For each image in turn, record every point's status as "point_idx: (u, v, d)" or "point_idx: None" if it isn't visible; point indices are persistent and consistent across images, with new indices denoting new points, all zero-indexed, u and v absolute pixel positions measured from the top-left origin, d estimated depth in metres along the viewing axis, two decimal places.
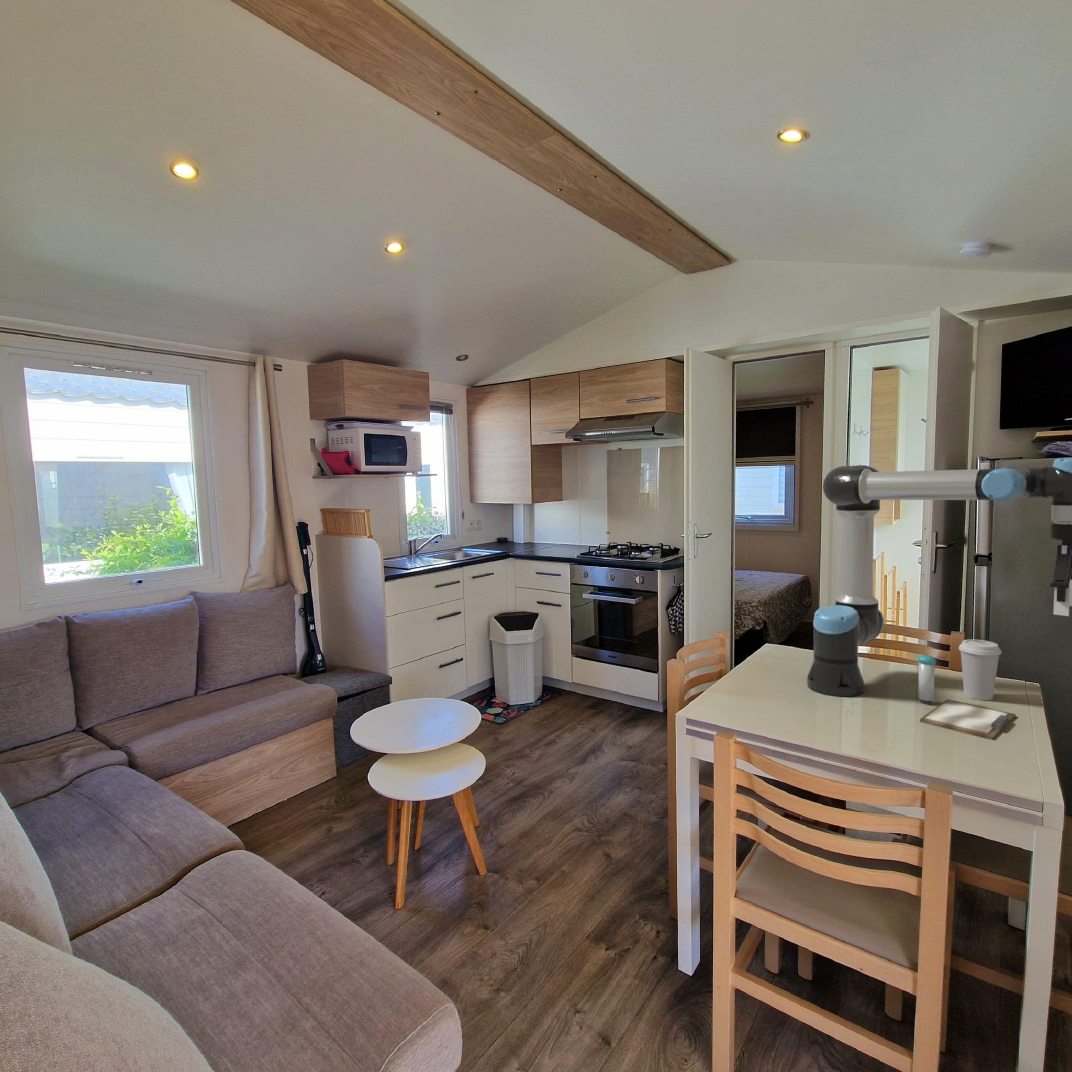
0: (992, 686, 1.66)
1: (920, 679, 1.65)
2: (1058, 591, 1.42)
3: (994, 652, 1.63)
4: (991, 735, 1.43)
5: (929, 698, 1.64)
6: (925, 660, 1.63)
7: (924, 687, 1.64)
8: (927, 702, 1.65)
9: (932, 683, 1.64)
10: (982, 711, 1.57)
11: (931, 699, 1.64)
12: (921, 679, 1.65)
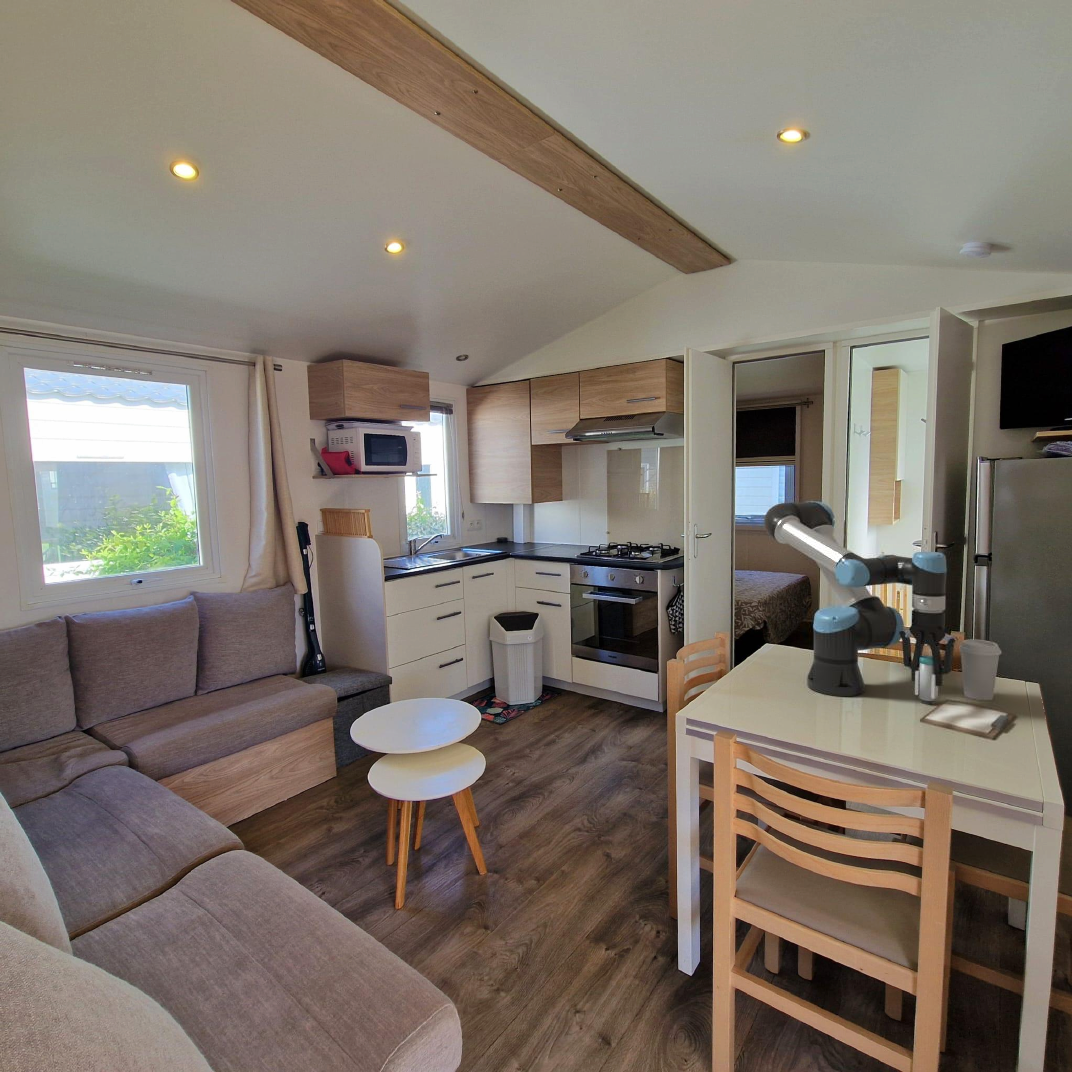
0: (992, 686, 1.66)
1: (921, 679, 1.65)
2: None
3: (994, 652, 1.63)
4: (991, 735, 1.43)
5: (930, 698, 1.64)
6: (926, 660, 1.63)
7: (924, 687, 1.64)
8: (928, 702, 1.64)
9: None
10: (982, 711, 1.57)
11: (932, 699, 1.64)
12: (922, 679, 1.64)
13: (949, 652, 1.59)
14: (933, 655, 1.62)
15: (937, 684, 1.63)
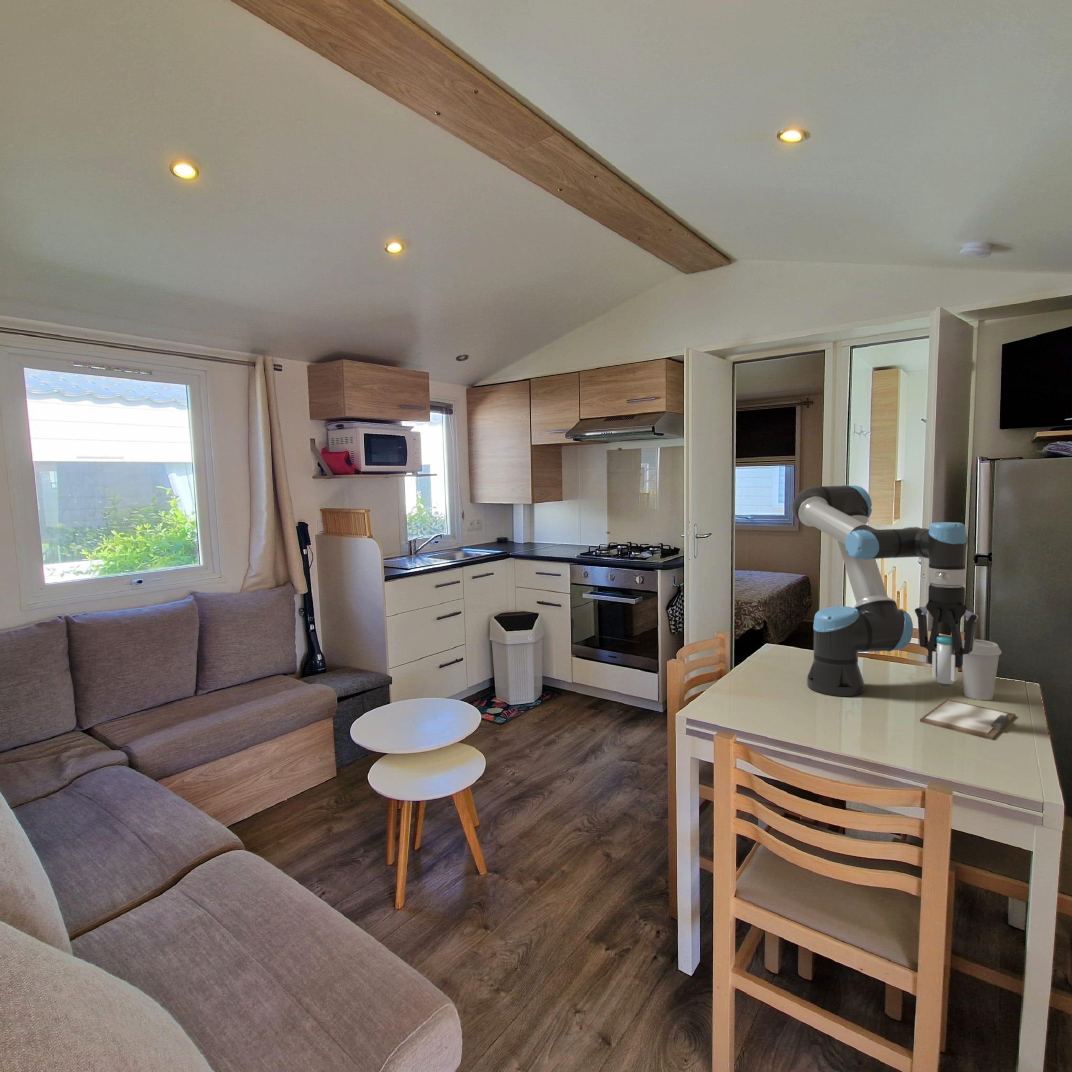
0: (992, 686, 1.66)
1: (938, 661, 1.52)
2: None
3: (994, 652, 1.63)
4: (991, 735, 1.43)
5: (949, 681, 1.51)
6: (944, 640, 1.51)
7: (942, 670, 1.51)
8: (946, 686, 1.52)
9: None
10: (982, 711, 1.57)
11: (950, 682, 1.51)
12: (939, 661, 1.52)
13: (970, 630, 1.47)
14: (952, 634, 1.50)
15: (957, 665, 1.50)
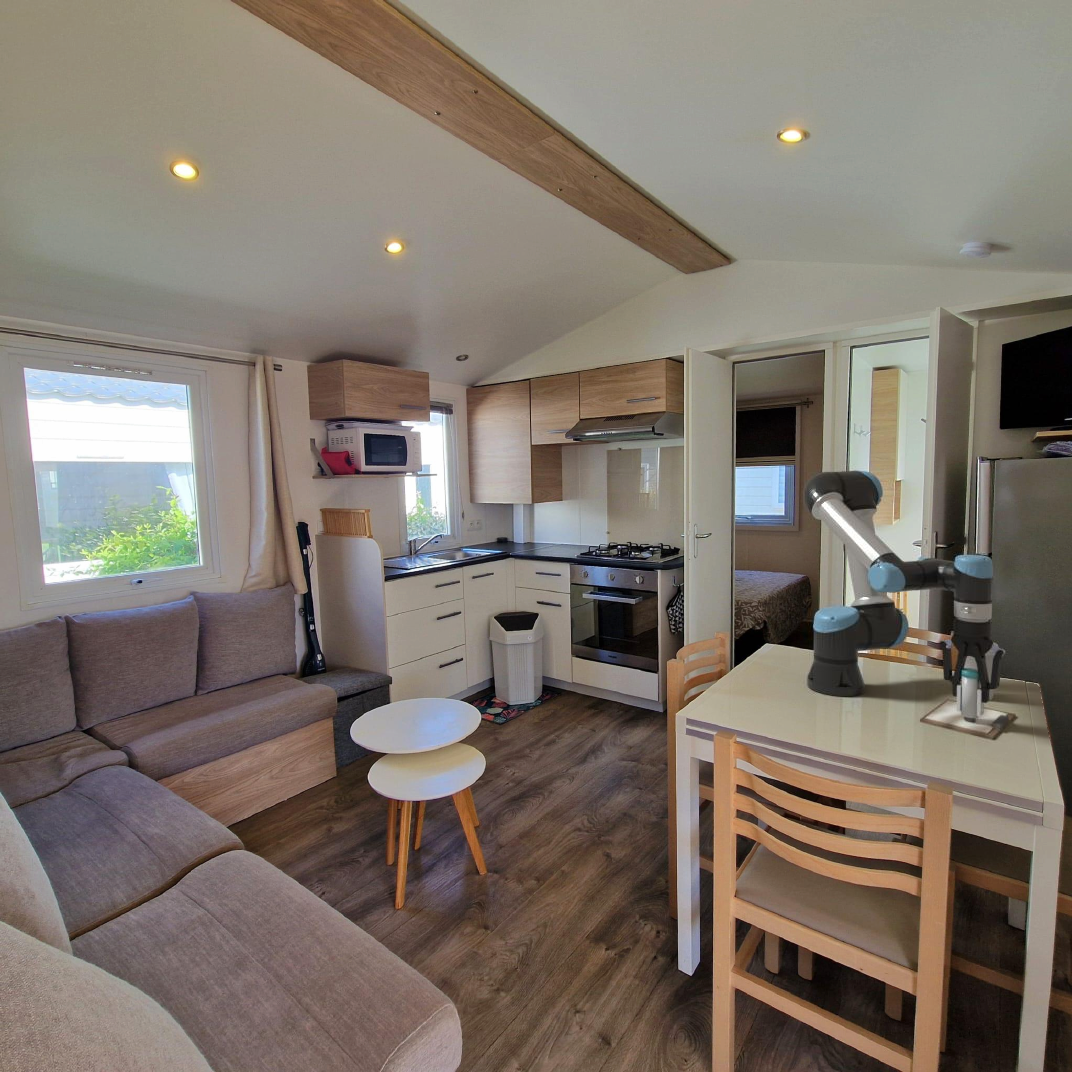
0: None
1: (963, 694, 1.50)
2: None
3: None
4: (991, 735, 1.43)
5: (974, 715, 1.49)
6: (969, 673, 1.49)
7: (968, 703, 1.50)
8: (971, 720, 1.50)
9: None
10: None
11: (976, 716, 1.49)
12: (965, 694, 1.50)
13: (997, 665, 1.45)
14: (979, 668, 1.48)
15: (983, 700, 1.48)
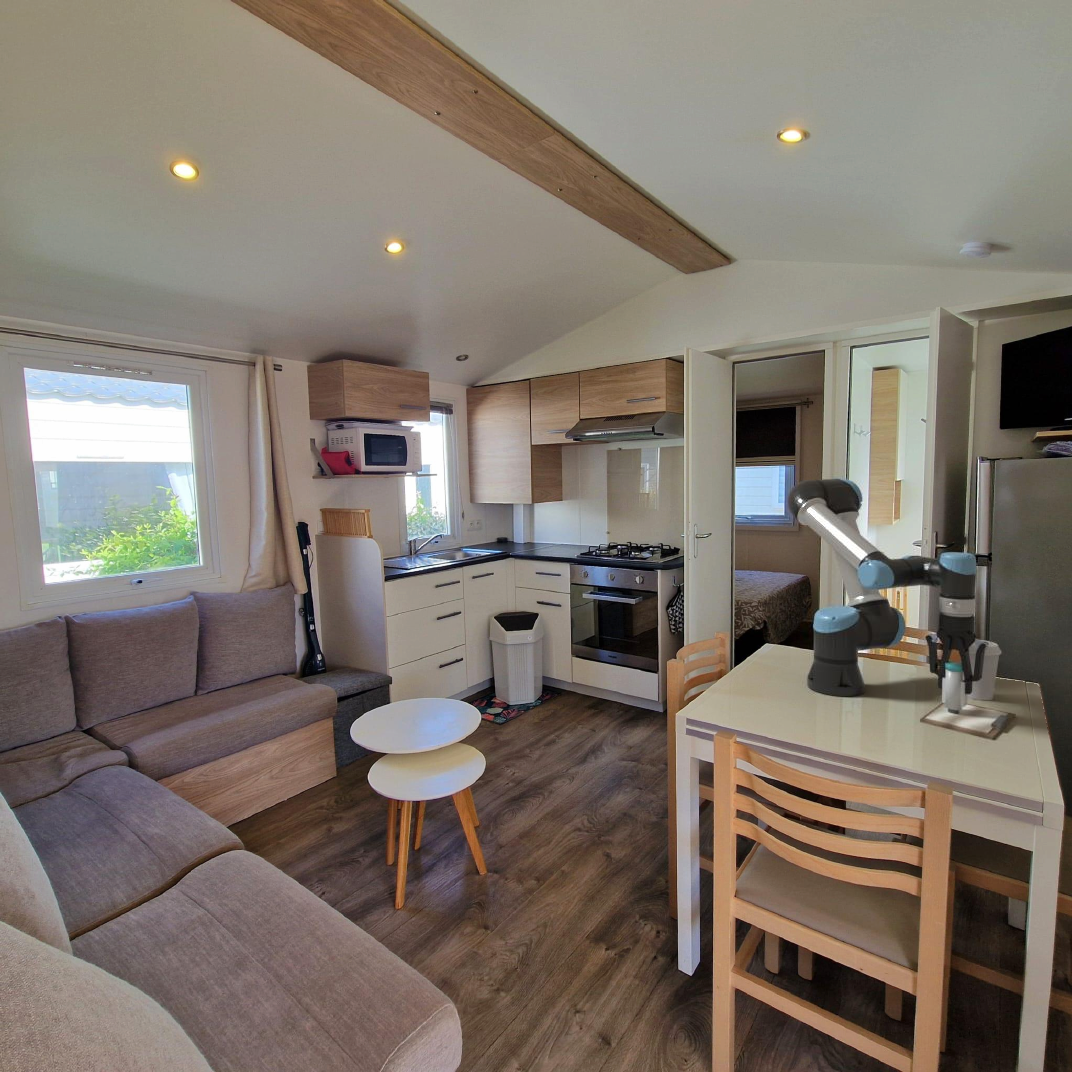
0: (992, 686, 1.66)
1: (946, 687, 1.56)
2: None
3: (994, 652, 1.63)
4: (991, 735, 1.43)
5: (956, 707, 1.55)
6: (951, 667, 1.55)
7: (950, 696, 1.55)
8: (954, 711, 1.56)
9: (959, 691, 1.55)
10: (982, 711, 1.57)
11: (958, 708, 1.55)
12: (947, 687, 1.56)
13: (980, 658, 1.51)
14: (962, 661, 1.54)
15: (967, 692, 1.54)
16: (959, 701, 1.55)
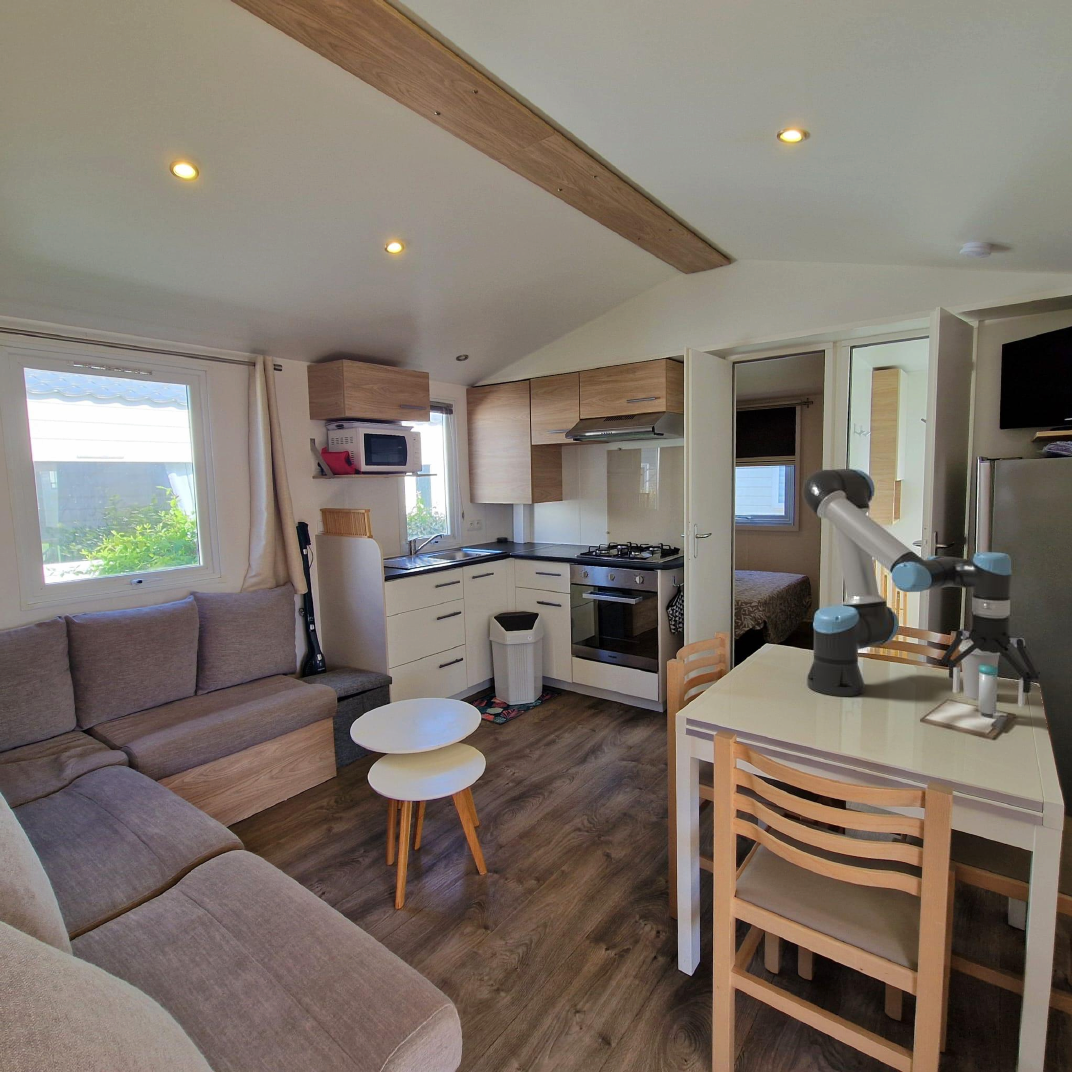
0: None
1: (980, 690, 1.53)
2: None
3: None
4: (991, 735, 1.43)
5: (991, 711, 1.52)
6: (986, 670, 1.51)
7: (985, 699, 1.52)
8: (988, 715, 1.53)
9: (994, 695, 1.51)
10: None
11: (993, 712, 1.52)
12: (982, 690, 1.53)
13: (1025, 654, 1.46)
14: (1010, 661, 1.49)
15: (1025, 690, 1.47)
16: (994, 705, 1.52)
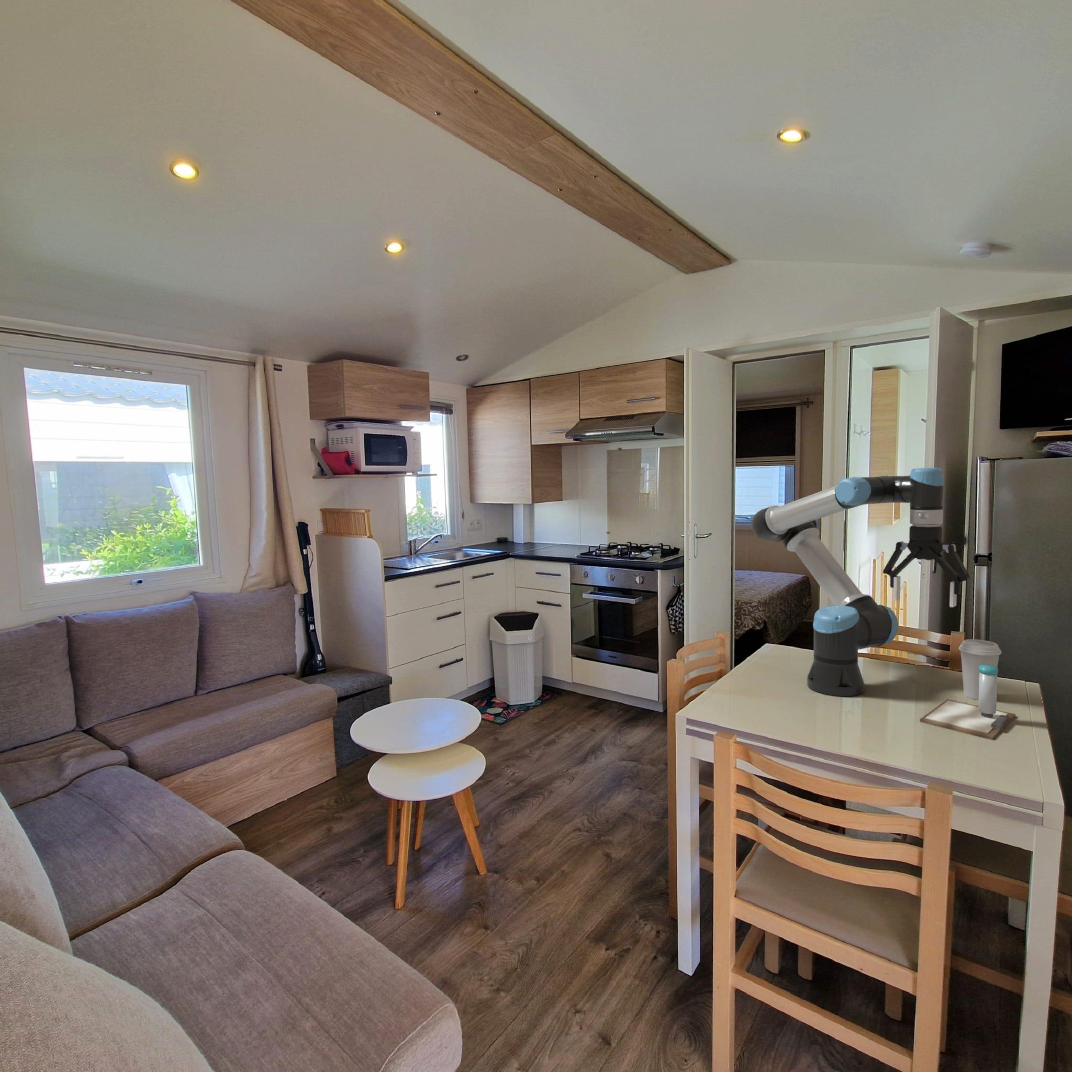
0: None
1: (981, 690, 1.53)
2: None
3: (994, 652, 1.63)
4: (991, 735, 1.43)
5: (991, 711, 1.52)
6: (986, 670, 1.51)
7: (985, 700, 1.52)
8: (988, 715, 1.53)
9: (994, 695, 1.51)
10: None
11: (993, 712, 1.52)
12: (982, 690, 1.53)
13: (955, 558, 1.59)
14: (942, 566, 1.62)
15: (956, 592, 1.60)
16: (994, 705, 1.52)
